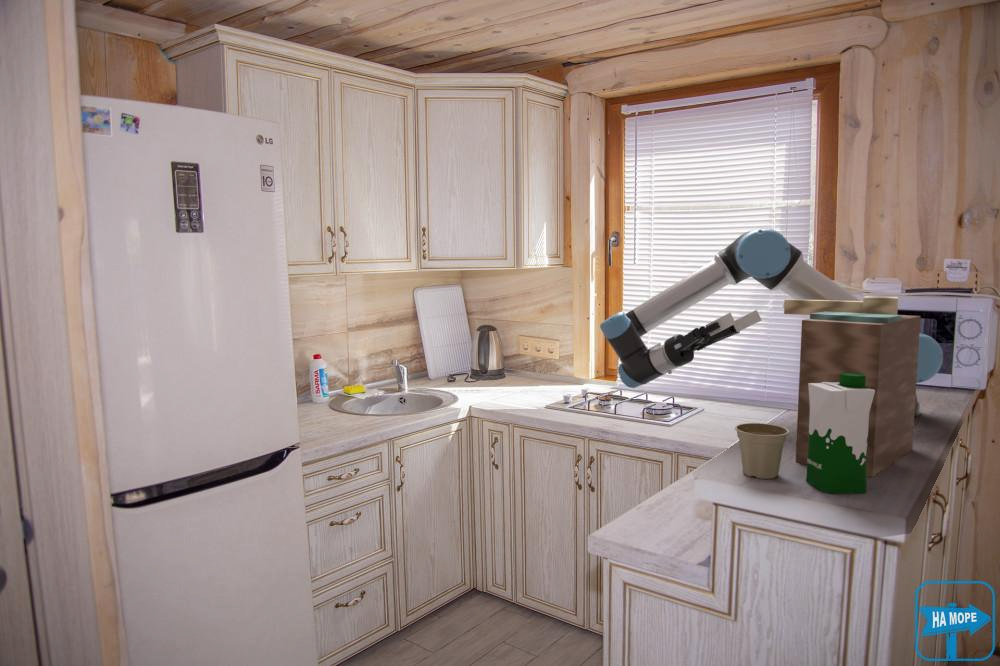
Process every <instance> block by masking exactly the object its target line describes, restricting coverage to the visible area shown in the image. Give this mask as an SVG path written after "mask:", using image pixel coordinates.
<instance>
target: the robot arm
mask: <svg viewBox="0 0 1000 666" xmlns="http://www.w3.org/2000/svg"><path fill="white" fill-rule="evenodd" d="M749 278H752V279H754V280H755V281H756V282H758V283H759V284H760V285H762V286H764V287H765V288H766V289H768V290H770V291H777V290H779V291H782V292H784V293H785V294H786V295H788V296H790V297H791V299H802V300H837V301H862V300H861V299H860V298H859V297H857V296H855V295H854V294H853V293H851V292H850V291H848V290H846V289H845V288H844V287H842V286H841V285H839V284H838V283H836V282H835V281H833V280H832V279H831V278H829V277H828V276H826V275H825V274H823V273H822V272H820V271H819V270H817V269H816V268H815V267H813V266H812V265H810V264H809V263H808V262H806V261H805V260H804V255H803V252H802V250H800V249H798V248H797V247H796V246H795V245H793V244H792V243H790V242H789V241H788V240H787V239H786V237H784V235H783V234H782V233H780V232H779V231H777V230H774V229H772V228H766V227H765V228H764V227H761V228H760V227H759V228H754V229H752V230H749V231H746V232H744V233H743V234H741V235H739V236H738V237H737V238H736V239H735V240H733V242H731V243H730V244H729V245H728V246H726V247H725V248H723V249H721V250H720V251H719V252H717V253H716V254H714V258H713V260H711V261H710V262H708V263H706V264H705V265H703V266H702V267H700V268H698V269H697V270H695V271H694V272H692V273H690V274H688V275H687V276H685V277H684V278H682V279H680V280H679V281H677V282H675V283H674V284H673V285H670V286H669V287H667V288H666V289H664V290H662V291H660V292H659V293H657V294H655V295H654V296H653V297H651V298H649V299H648V300H646V301H644V302H642V303H641V304H639V305H637V306H636V307H634V308H633V309H632V310H630V311H628V312H626V313H625V312H624V311H618V312H616V313H615V314H613V315H611V316H609V317H608V318H607V319H605V320H604V321H602V322H601V323H600V325H599V328H600V330H601V332H602V334H603V336H604V339H606V340H607V342H608V343H609V344H610V346H611V347H612V349H613V351H614V352H615V354H616V356H617V357H618V358H619V360H620V364H619V366H618V368H617V373H618V374H619V379H620V381H621V382H622V383H623V384H624V385H625V386H626V387H628V388H631V389H635V388H638V387H641V386H643V385H646V384H648V383H650V382H652V381H654V380H656V379H658V378H661V377H662V376H664V375H666V374H668V375H672V373H673V371H674V370H676V369H678V368H679V367H682V366H685V365H687V364H689V363H691V362H692V361H693V360H694V358H695V351H697V352H699V351H702V350H703V349H706V348H707V347H709V346H712V345H713V344H716V343H718V342H720V341H723V340H726V339H728V338H730V337H732V336H734V335H739V334H740V333H741V331H742V330H746V329H747V328H749V327H751V326H753V325H755V324H757V323H760V322H761V321H762V318H761V316H760V314H759V312H758V310H756V309H755V310H753V311H751V312H749V313H747V314H746V315H743V316H741V317H739V318H737V319H734V317H733V315H732V313H731V312H729V313H727V314H724V315H723V316H720V317H719V318H717V319H715V320H713V321H711V322H708V323H706V324H705V326H700V327H695V328H694V329H692V330H691V331H689V332H687V333H686V334H684V335H683V334H679V333H678V334H675V335H673V336H671V337H669V338H667V339H666V340H663V341H661V342H660V343H659V342H658V343H657V344H655V345H653V346H651V347H650V348H648V347H647V346H646V343H645V342H644V341H643V339H642V337H643V336H644V335H646V334H647V333H649V332H651V331H653V330H654V329H655V328H657V327H659V326H660V325H663V324H665V323H666V322H667V321H669V320H672V319H673V318H674V317H676V316H677V315H680V314H681V313H683V312H684V311H686V310H688V309H689V308H691V307H693V306H695V305H696V304H698V303H700V302H701V301H703V300H704V299H706V298H708V297H709V296H711V295H713V294H715V293H716V292H718V291H719V290H721V289H723V288H725V287H726V286H728V285H733V286H734V285H735V286H736V285H737V284H739V283H740V282H742V281H744V280H747V279H749ZM943 353H944V352H943V349H942V347H941V346H940V344H939V342H938V341H936V340H935V339H934V338H933V337H932V336H930V335H927V334H925V333H922V332H920V334H919V350H918V366H917V382H916V384H920V383H924V382H926V381H929V380H931V379H932V378H934V377H935V376H936V375H937V374H938V372H939V371H940V369H941V367H942V365H943V362H944V354H943ZM920 414H921V405H920V403H919V402H918V395H917V394H916V398H915V413H914V417H917V416H920Z"/></svg>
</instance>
